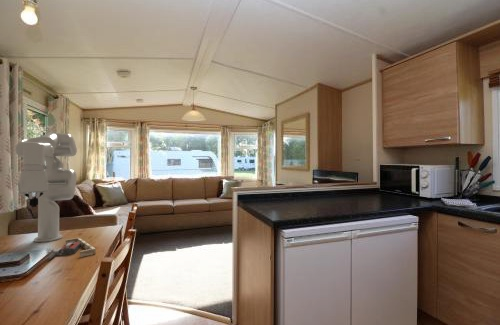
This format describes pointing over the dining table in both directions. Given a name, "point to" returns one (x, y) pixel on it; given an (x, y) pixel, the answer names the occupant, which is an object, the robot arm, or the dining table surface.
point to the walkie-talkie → (67, 249)
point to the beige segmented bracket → (88, 247)
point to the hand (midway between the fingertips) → (33, 206)
